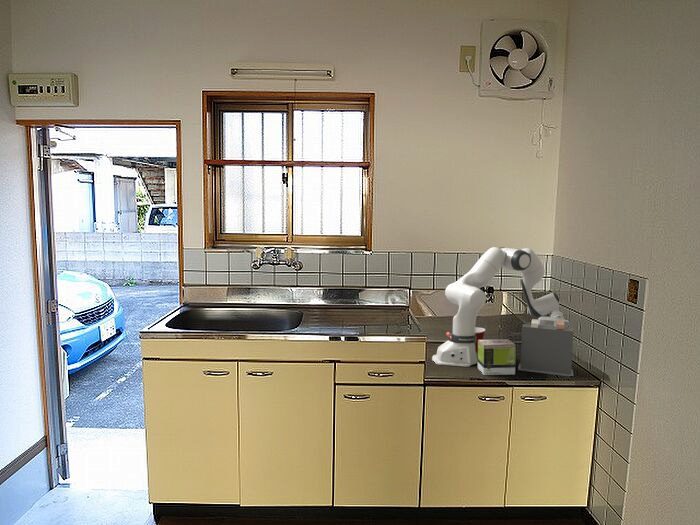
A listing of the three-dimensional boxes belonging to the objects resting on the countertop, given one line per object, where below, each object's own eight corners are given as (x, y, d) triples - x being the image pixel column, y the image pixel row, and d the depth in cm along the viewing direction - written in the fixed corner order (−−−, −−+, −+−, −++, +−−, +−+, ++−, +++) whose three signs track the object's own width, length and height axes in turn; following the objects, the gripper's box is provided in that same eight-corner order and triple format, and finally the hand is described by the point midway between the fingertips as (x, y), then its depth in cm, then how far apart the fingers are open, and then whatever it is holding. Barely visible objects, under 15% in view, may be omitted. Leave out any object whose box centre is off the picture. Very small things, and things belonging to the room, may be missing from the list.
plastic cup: (462, 347, 265) (463, 326, 263) (482, 348, 264) (483, 326, 262) (465, 353, 254) (466, 331, 253) (486, 353, 253) (487, 331, 252)
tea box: (507, 368, 230) (508, 338, 229) (515, 375, 220) (516, 344, 219) (476, 368, 230) (477, 338, 228) (483, 375, 220) (484, 344, 218)
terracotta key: (554, 339, 221) (555, 324, 221) (555, 334, 231) (555, 319, 230) (564, 340, 220) (565, 325, 219) (564, 335, 229) (564, 320, 228)
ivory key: (529, 338, 224) (530, 322, 223) (530, 332, 234) (531, 318, 233) (538, 339, 223) (539, 323, 222) (539, 333, 232) (540, 319, 231)
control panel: (518, 369, 227) (519, 326, 225) (519, 365, 235) (520, 323, 232) (573, 376, 218) (575, 332, 216) (572, 371, 225) (575, 328, 223)
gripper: (538, 312, 256) (537, 317, 244) (580, 316, 248) (581, 321, 235) (537, 324, 257) (536, 330, 244) (579, 327, 249) (581, 334, 236)
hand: (559, 326), depth 240 cm, fingers closed
